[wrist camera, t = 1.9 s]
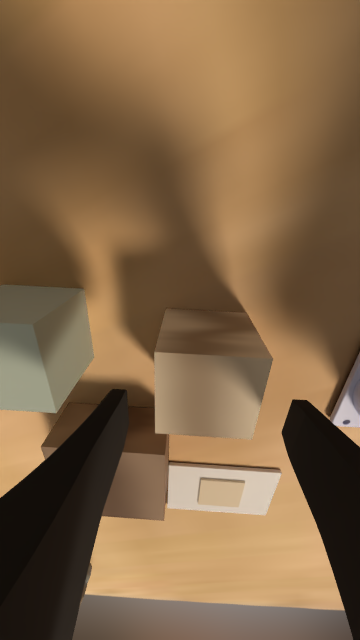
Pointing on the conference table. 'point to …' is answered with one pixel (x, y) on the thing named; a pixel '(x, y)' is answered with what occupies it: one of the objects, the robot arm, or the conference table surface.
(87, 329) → the sage cube
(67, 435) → the walnut block
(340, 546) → the robot arm
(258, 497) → the card
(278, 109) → the conference table surface
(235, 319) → the maple cube
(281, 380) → the conference table surface
